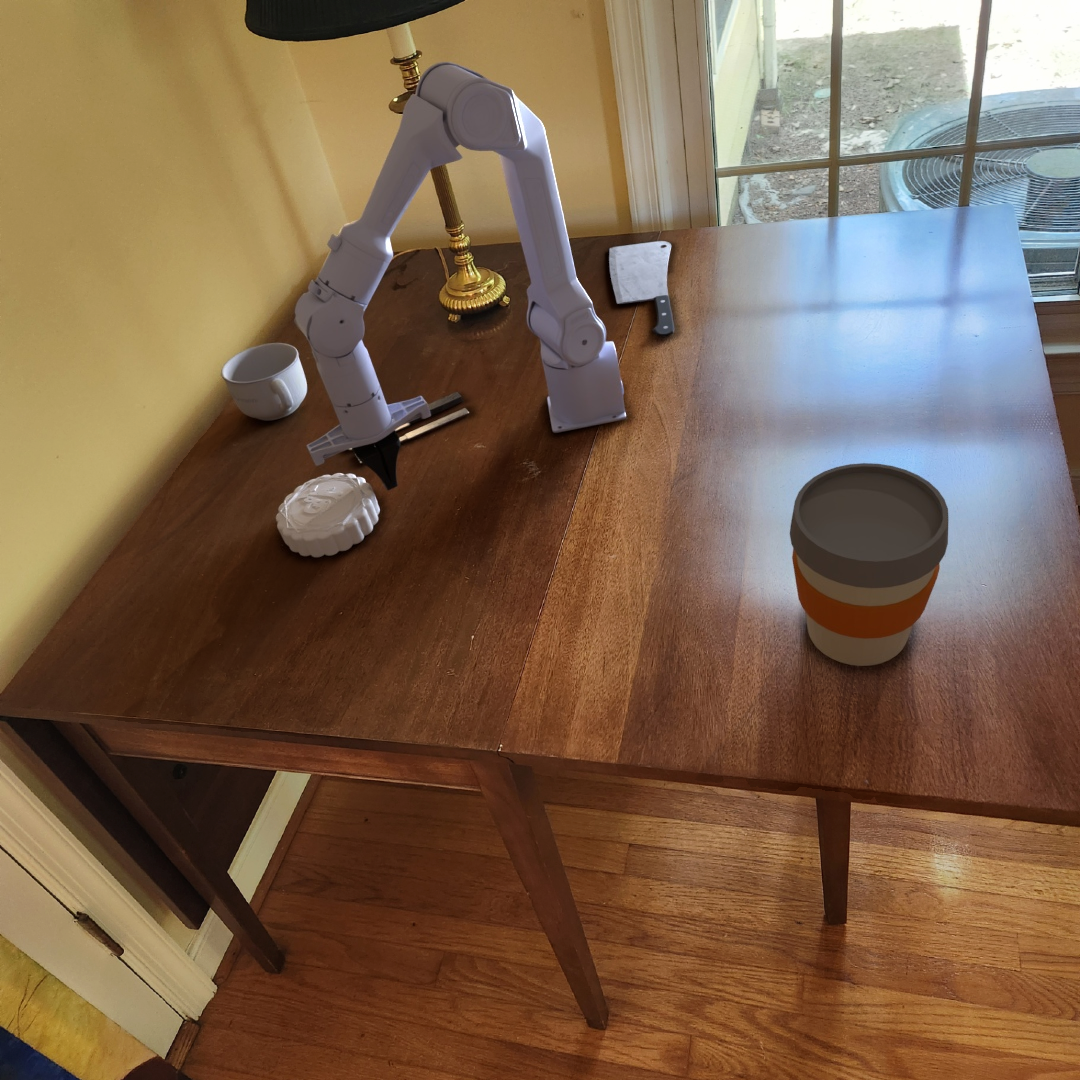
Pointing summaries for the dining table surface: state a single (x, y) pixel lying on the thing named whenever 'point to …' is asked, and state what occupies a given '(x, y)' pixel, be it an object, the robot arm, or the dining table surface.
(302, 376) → the teacup
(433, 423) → the fork
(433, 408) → the knife
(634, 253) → the cleaver
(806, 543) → the reusable coffee cup
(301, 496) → the mooncake
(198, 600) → the dining table surface
